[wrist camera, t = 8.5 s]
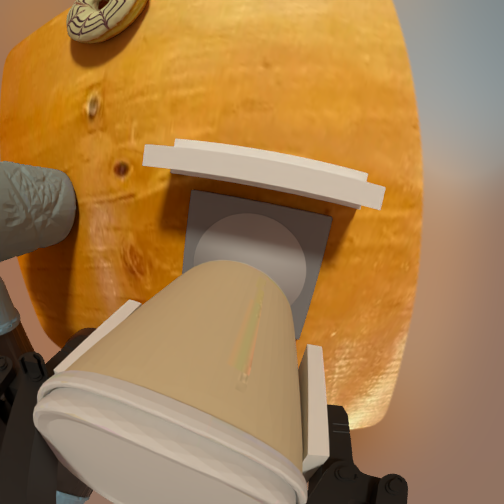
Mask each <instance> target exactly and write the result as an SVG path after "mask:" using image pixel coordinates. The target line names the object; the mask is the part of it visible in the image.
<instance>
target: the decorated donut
mask: <svg viewBox="0 0 504 504" xmlns="http://www.w3.org/2000/svg"><path fill="white" fill-rule="evenodd" d="M146 2H147V0H76V1H75V2H74V4H73V6H72V8H71V9H70V11H69V13H68V15H67V31H68V35H69V37H71V38H72V39H74V40H75V41H78V42H80V43H100V42H103V41H106V40H108V39H111V38H112V37H115V36H116V35H117V34H119V33H120V32H122V31H123V30H125V29H126V28H127V27H129V26H130V25H131V24H132V23H133V22H134V21H135V19H136V18H137V17H138V16H139V15H140V14H141V13H142V11H143V9H144V7H145V5H146Z"/></svg>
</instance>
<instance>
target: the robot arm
mask: <svg viewBox="0 0 504 504" xmlns="http://www.w3.org/2000/svg"><path fill="white" fill-rule="evenodd" d="M140 307H141V303H139V302H136V301H133V300H128V301H127V302H126V303H125V304H124V305H123V306H122V307H121V308H119V309H118V310H117V311H116V312H115V313H114V314H113V315H112V316H110V317H109V318H108V319H107V320H106V321H105V322H104V323H103V324H102V325H101V326H99V327H98V328H97V329H96V328H84V329H81V330H79V331H78V332H77V333H75V334H74V335H73V336H72V337H71V338H70V339H69V340H68V341H67V342H66V344H65V346H64V347H63V348H62V349H61V351H59V352H58V353H57V354H56V355H55V356H54V357H52V358H51V359H50V360H49V361H48V362H47V363H46V364H45V362H44V360H43V357H42V356H41V355H40V354H39V353H36V352H35V351H34V349H33V347H32V345H31V343H30V341H29V339H28V337H27V335H26V333H25V330H24V328H23V326H22V324H21V321H20V314H19V312H18V310H17V309H16V308H15V307H14V305H13V303H12V301H11V299H10V296H9V294H8V291H7V289H6V286H5V284H4V282H3V280H2V278H1V277H0V504H84V502H85V501H87V500H88V499H89V497H90V494H91V493H92V491H93V489H91V488H90V487H88V486H87V485H86V484H84V483H83V482H82V481H81V480H79V479H78V478H77V477H76V476H75V475H73V474H72V473H71V472H70V471H69V470H68V469H67V468H66V467H65V466H64V465H63V464H62V463H61V462H60V461H59V460H58V459H57V457H56V456H55V454H54V453H53V451H52V450H51V448H50V447H49V445H48V444H47V442H46V441H45V439H44V438H43V437H42V435H41V434H40V432H39V431H38V429H37V428H36V427H35V424H34V421H33V412H34V408H35V406H36V405H37V395H38V391H39V389H40V387H41V386H42V384H43V383H44V382H45V381H47V380H48V379H49V378H50V377H52V376H53V375H54V374H57V373H59V372H62V371H65V370H66V369H67V368H68V367H69V366H71V365H72V364H73V363H74V362H75V361H76V360H77V359H78V358H79V357H80V356H81V355H83V354H84V353H85V352H86V351H87V350H89V349H90V348H91V347H92V346H93V345H94V344H96V343H97V342H98V341H99V340H100V339H102V338H103V337H104V336H105V335H106V334H108V333H109V332H110V331H111V330H113V329H114V328H115V327H116V326H117V325H119V324H120V323H121V322H122V321H124V320H125V319H126V318H127V317H128V316H130V315H131V314H132V313H133V312H135V311H136V310H137V309H138V308H140ZM298 376H299V390H300V406H301V425H302V446H303V469H302V475H303V476H304V478H305V481H306V483H307V482H308V481H309V487H308V491H307V496H308V498H307V502H306V503H305V504H407V495H408V486H407V482H406V481H405V479H404V478H402V477H401V476H400V475H397V474H388V475H386V476H384V477H382V478H378V477H374V476H370V475H367V474H364V473H362V472H360V470H359V469H358V468H357V466H356V465H354V463H353V458H352V447H351V438H350V433H349V432H350V430H349V426H348V425H349V422H348V415H347V413H346V411H345V410H344V408H343V407H342V406H337V405H328V404H327V400H326V387H325V375H324V364H323V354H322V347H321V346H315V345H310V344H307V347H306V350H305V352H304V355H303V358H302V361H301V363H300V366H299V369H298Z"/></svg>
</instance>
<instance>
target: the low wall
mask: <svg viewBox="0 0 504 504" xmlns="http://www.w3.org/2000/svg"><path fill="white" fill-rule="evenodd" d="M142 166H151V167H160V168H168V169H171V172H170V173H174V174H181V175H188V176H195V177H202V178H208V179H215V180H221V181H227V182H233V183H239V184H244V185H250V186H255V187H261V188H266V189H271V190H276V191H281V192H286V193H291V194H296V195H300V196H305V197H310V198H314V199H319V200H323V201H327V202H332V203H336V204H340V205H344V206H348V207H352V208H356V209H360V208H361V205H363V206H366V207H370V208H374V209H378V210H380V209H381V205H382V201H383V197H384V192H385V188H386V187H382V186H379V185H375V184H372V183H368V182H366V181H367V176H368V173H364V172H361V171H357V170H353V169H349V168H345V167H341V166H337V165H333V164H329V163H325V162H321V161H316V160H312V159H307V158H302V157H298V156H293V155H288V154H283V153H277V152H272V151H266V150H260V149H254V148H248V147H242V146H235V145H228V144H220V143H212V142H204V141H195V140H185V139H175V144H174V147H173V146H161V145H149V144H145V150H144V157H143V165H142Z"/></svg>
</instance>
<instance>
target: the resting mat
mask: <svg viewBox="0 0 504 504" xmlns="http://www.w3.org/2000/svg"><path fill="white" fill-rule="evenodd" d="M332 219H333V218H332V217H331V216H327V215H323V214H318V213H314V212H309V211H304V210H300V209H295V208H290V207H286V206H281V205H276V204H271V203H266V202H261V201H256V200H250V199H245V198H240V197H234V196H229V195H223V194H217V193H212V192H206V191H200V190H191V197H190V205H189V213H188V221H187V230H186V240H185V250H184V260H183V272H182V274H184V273H185V272H187V271H188V270H190V269H191V268H193V267H195V266H197V265H200V264H202V263H205V262H209V261H215V260H232V261H238V262H243V263H246V264H248V265H251V266H253V267H255V268H257V269H259V270H261V271H262V272H264V273H265V274H267V275H268V276H269V277H270V278H272V279H273V280H274V281H275V282H276V283H277V284H278V286H279V287H280V288H281V289H282V291H283V292H284V294H285V296H286V298H287V300H288V302H289V304H290V307H291V311H292V317H293V324H294V331H295V339H299V338H300V335H301V332H302V328H303V325H304V322H305V319H306V315H307V312H308V309H309V305H310V302H311V299H312V295H313V292H314V288H315V285H316V281H317V278H318V274H319V270H320V267H321V263H322V259H323V255H324V251H325V247H326V243H327V240H328V235H329V231H330V227H331V223H332Z"/></svg>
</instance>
